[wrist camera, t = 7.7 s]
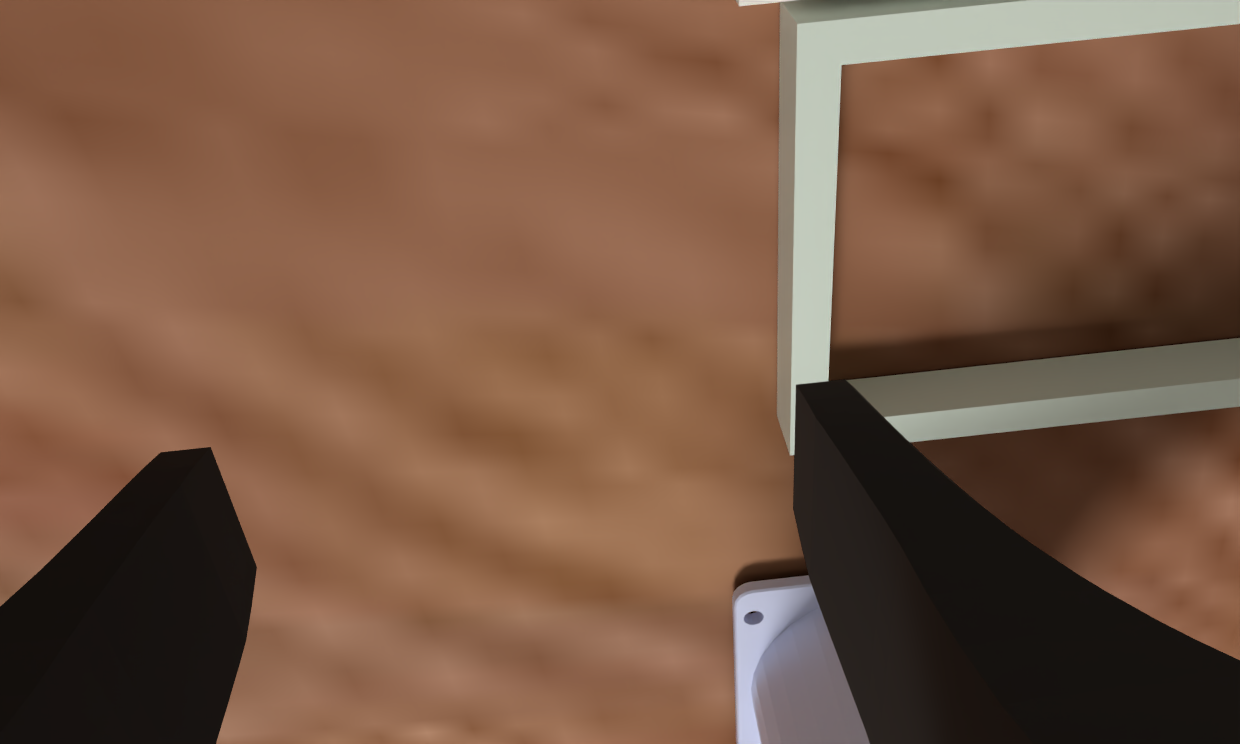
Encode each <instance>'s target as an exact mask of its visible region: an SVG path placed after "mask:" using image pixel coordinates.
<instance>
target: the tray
mask: <svg viewBox="0 0 1240 744" xmlns="http://www.w3.org/2000/svg"><path fill="white" fill-rule="evenodd" d="M785 1H795V0H736V2H737V3H738V5H739V6H746V5H756V4H766V3H776V2H785Z"/></svg>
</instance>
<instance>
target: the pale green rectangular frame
mask: <svg viewBox="0 0 1240 744" xmlns="http://www.w3.org/2000/svg"><path fill="white" fill-rule="evenodd" d="M1234 24H1240V0H795V1H785V2H780V64H779V198H778V332H777V417H778V420H779V423H780V426H781V429H782V432H783V436H784V439H785V442H786V445H787V448H788V451H789V454H790V455H794V449H795V402H796V385H797V384H806V383H816V382H825V381H828V378H829V354H830V330H831V306H832V282H833V258H834V234H835V210H836V186H837V162H838V138H839V114H840V90H841V65H846V64H856V63H866V62H875V61H885V60H895V59H904V58H914V57H924V56H933V55H943V54H953V53H962V52H972V51H982V50H992V49H1001V48H1011V47H1021V46H1030V45H1040V44H1050V43H1059V42H1069V41H1079V40H1088V39H1098V38H1108V37H1117V36H1127V35H1137V34H1146V33H1156V32H1166V31H1176V30H1185V29H1195V28H1205V27H1214V26H1224V25H1234ZM846 381H848V382H849V383H850V384H851V385H852V386H853V387H854V388H855V389H856V390H857V391H858V392H859V393H860V394H861V395H862V396H863V397H864V398H865V399H866V400H867V401H868V402H869V403H870V404H871V405H872V406H873V407H874V408H875V409H876V410H877V411H878V412H879V413H880V414H881V415H882V416H883V417H884V418H885V419H886V420H887V421H888V422H889V423H890V424H891V425H892V426H893V427H894V428H895V429H896V430H897V431H898V432H899V433H901V434H902V435H903V436H904V437H905V438H906V439H907V440H908V441H909V442H918V441H927V440H936V439H946V438H955V437H964V436H973V435H982V434H992V433H1001V432H1010V431H1019V430H1028V429H1037V428H1047V427H1056V426H1065V425H1074V424H1083V423H1093V422H1102V421H1111V420H1120V419H1129V418H1138V417H1148V416H1157V415H1166V414H1175V413H1184V412H1194V411H1203V410H1212V409H1221V408H1230V407H1239V406H1240V338H1233V339H1224V340H1215V341H1205V342H1196V343H1187V344H1178V345H1168V346H1159V347H1150V348H1141V349H1131V350H1122V351H1113V352H1103V353H1094V354H1085V355H1076V356H1066V357H1057V358H1048V359H1039V360H1029V361H1020V362H1011V363H1002V364H992V365H983V366H974V367H964V368H955V369H946V370H937V371H927V372H918V373H909V374H900V375H890V376H881V377H872V378H863V379H853V380H846Z"/></svg>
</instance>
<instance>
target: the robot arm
mask: <svg viewBox="0 0 1240 744" xmlns="http://www.w3.org/2000/svg"><path fill="white" fill-rule="evenodd" d="M793 510H794V515H795V519H796V523H797V528H798V532H799V537H800V541H801V546H802V550H803V554H804V558H805V562H806V566H807V570H808V575H806V576H797V577H788V578H779V579H770V580H761V581H752V582H747V583H744V584H742V585H740V586H739V587H737V589H736V590H735V591H734V593H733V597H732V602H733V641H734V679H735V717H736V744H1240V660H1238V659H1236V658H1233V657H1231V656H1229V655H1227V654H1225V653H1223V652H1221V651H1219V650H1216V649H1214V648H1212V647H1210V646H1208V645H1206V644H1204V643H1201V642H1199V641H1197V640H1195V639H1193V638H1191V637H1189V636H1187V635H1185V634H1183V633H1181V632H1179V631H1177V630H1175V629H1173V628H1171V627H1169V626H1168V625H1166V624H1164V623H1162V622H1160V621H1158V620H1156V619H1154V618H1152V617H1150V616H1149V615H1147V614H1145V613H1143V612H1142V611H1140V610H1138V609H1136V608H1134V607H1133V606H1131V605H1129V604H1127V603H1126V602H1124V601H1122V600H1120V599H1118V598H1117V597H1115V596H1113V595H1111V594H1110V593H1108V592H1106V591H1104V590H1103V589H1101V588H1099V587H1098V586H1096V585H1094V584H1093V583H1091V582H1089V581H1088V580H1086V579H1084V578H1083V577H1081V576H1080V575H1078V574H1076V573H1075V572H1073V571H1072V570H1070V569H1069V568H1067V567H1066V566H1064V565H1063V564H1061V563H1060V562H1058V561H1057V560H1055V559H1054V558H1052V557H1051V556H1049V555H1048V554H1046V553H1045V552H1043V551H1042V550H1040V549H1039V548H1037V547H1036V546H1034V545H1033V544H1031V543H1030V542H1028V541H1027V540H1026V539H1024V538H1023V537H1021V536H1020V535H1019V534H1017V533H1016V532H1015V531H1013V530H1012V529H1010V528H1009V527H1008V526H1006V525H1005V524H1004V523H1003V522H1001V521H1000V520H999V519H998V518H996V517H995V516H994V515H993V514H991V513H990V512H989V511H988V510H986V509H985V508H984V507H982V506H981V505H980V504H979V503H977V502H976V501H975V500H974V499H973V498H972V497H970V496H969V495H968V494H967V493H966V492H964V491H963V490H962V489H961V488H960V487H958V486H957V485H956V484H955V483H954V482H953V481H952V480H951V479H949V478H948V477H947V476H946V475H945V474H944V473H943V472H942V471H940V470H939V469H938V468H937V467H936V466H935V465H934V464H933V463H931V462H930V461H929V460H928V459H927V458H926V457H925V456H924V455H923V454H922V453H920V452H919V451H918V450H917V449H916V448H915V447H914V446H913V445H912V444H911V443H910V442H909V441H908V440H907V439H906V438H905V437H904V436H903V435H902V434H901V433H899V432H898V431H897V430H896V429H895V428H894V427H893V426H892V425H891V424H890V423H889V422H888V421H887V420H886V419H885V418H884V417H883V416H882V415H881V414H880V413H879V412H878V411H877V410H876V409H875V408H874V407H873V406H872V405H871V404H870V403H869V402H868V401H867V400H866V399H865V398H864V397H863V396H862V395H861V394H860V393H859V392H858V391H857V390H856V389H855V388H854V387H853V386H852V385H851V384H850V383H849V382H848V381H846V380H845V379H844V380H834V381H825V382H816V383H806V384H797V385H796V402H795V449H794V495H793ZM256 569H257V567H256V564H255V561H254V559H253V556H252V554H251V551H250V548H249V546H248V543H247V541H246V538H245V535H244V533H243V530H242V528H241V525H240V522H239V520H238V517H237V515H236V512H235V509H234V507H233V504H232V502H231V499H230V496H229V494H228V491H227V489H226V486H225V483H224V481H223V478H222V476H221V473H220V470H219V468H218V465H217V463H216V460H215V457H214V455H213V452H212V450H211V447H207V448H198V449H189V450H179V451H170V452H161V453H160V454H159V455H157V456H156V457H155V458H154V459H153V460H152V461H151V462H150V463H149V464H148V465H146V466H145V467H144V468H143V469H142V470H141V471H140V472H139V473H138V474H137V475H136V476H135V477H134V478H133V479H132V480H131V481H130V482H129V483H128V484H127V485H126V486H125V487H124V488H123V489H122V490H121V491H120V492H119V493H118V494H117V495H116V496H115V497H114V498H113V499H112V500H111V501H110V502H109V503H108V504H107V505H106V506H105V507H104V508H103V509H102V510H101V511H100V512H99V513H98V514H97V515H96V516H95V517H94V518H93V519H92V520H91V521H90V522H89V523H88V524H87V525H86V526H85V527H84V528H83V529H82V530H81V531H80V532H79V533H78V534H77V535H76V536H75V537H74V538H73V539H72V540H71V541H70V542H69V543H68V544H67V545H66V546H65V547H64V548H63V549H62V550H61V551H60V552H59V553H58V554H57V555H56V556H55V557H54V558H53V559H52V560H51V561H50V562H49V563H47V564H46V565H45V566H44V567H43V568H42V569H41V570H40V571H39V572H38V573H37V574H36V575H35V576H34V577H33V578H31V579H30V580H29V581H28V582H27V583H26V584H25V585H24V586H23V587H22V588H20V589H19V590H18V591H17V592H16V593H15V594H14V595H13V596H12V597H10V598H9V599H8V600H7V601H6V602H5V603H4V604H3V605H2V606H1V607H0V744H216V741H217V738H218V735H219V731H220V728H221V725H222V721H223V718H224V715H225V712H226V708H227V705H228V702H229V698H230V695H231V691H232V688H233V684H234V681H235V678H236V674H237V671H238V667H239V664H240V660H241V657H242V653H243V650H244V646H245V642H246V637H247V631H248V625H249V619H250V613H251V607H252V599H253V592H254V584H255V577H256ZM752 611H757V612H755V613H751V614H749V612H752Z"/></svg>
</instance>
